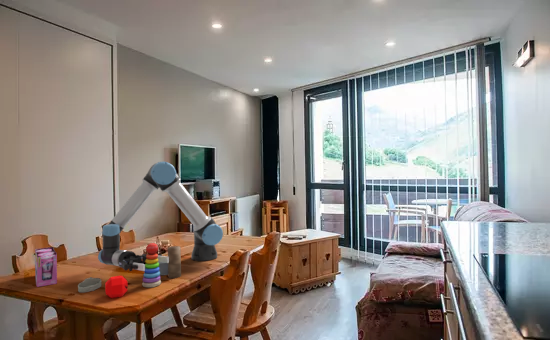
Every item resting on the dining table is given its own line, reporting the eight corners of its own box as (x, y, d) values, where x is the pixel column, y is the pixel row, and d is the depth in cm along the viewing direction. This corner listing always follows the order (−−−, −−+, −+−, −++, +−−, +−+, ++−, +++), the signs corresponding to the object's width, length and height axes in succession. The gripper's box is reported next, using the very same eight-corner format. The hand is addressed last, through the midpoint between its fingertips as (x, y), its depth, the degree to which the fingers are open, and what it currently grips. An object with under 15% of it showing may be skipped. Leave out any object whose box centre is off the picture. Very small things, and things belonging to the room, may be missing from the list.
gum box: (57, 284, 150) (57, 254, 150) (36, 288, 145) (36, 257, 145) (53, 272, 168) (53, 246, 169) (34, 275, 164) (34, 249, 164)
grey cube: (168, 271, 167) (168, 259, 167) (168, 274, 161) (168, 262, 161) (156, 272, 165) (156, 260, 165) (155, 276, 159) (155, 263, 159)
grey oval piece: (100, 285, 147) (99, 274, 147) (103, 289, 142) (103, 277, 142) (76, 290, 141) (76, 279, 141) (79, 294, 136) (79, 282, 136)
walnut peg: (180, 273, 162) (180, 245, 162) (181, 277, 156) (180, 248, 156) (168, 275, 160) (167, 246, 160) (168, 278, 154) (167, 249, 154)
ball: (128, 297, 132) (127, 278, 132) (106, 301, 128) (105, 281, 128) (126, 291, 139) (126, 273, 139) (105, 294, 135) (105, 276, 135)
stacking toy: (154, 288, 141) (154, 245, 141) (138, 287, 142) (137, 245, 143) (164, 282, 149) (163, 241, 149) (148, 281, 150) (148, 241, 151)
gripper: (146, 260, 165) (177, 264, 155) (100, 274, 143) (132, 280, 133) (145, 245, 165) (176, 249, 155) (99, 256, 143) (132, 262, 133)
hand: (156, 263), depth 144 cm, fingers open, 13 cm apart
